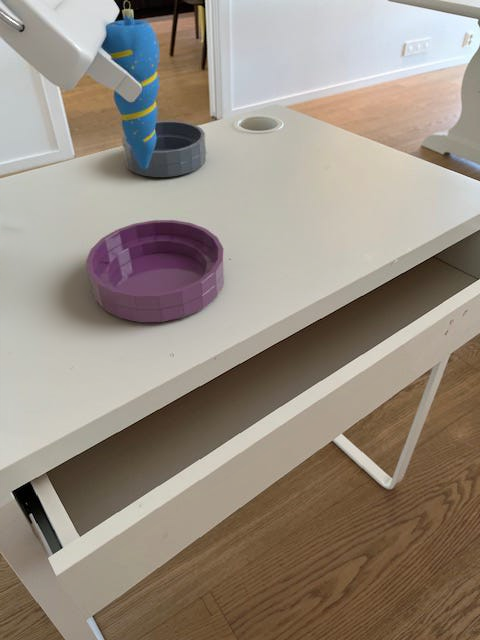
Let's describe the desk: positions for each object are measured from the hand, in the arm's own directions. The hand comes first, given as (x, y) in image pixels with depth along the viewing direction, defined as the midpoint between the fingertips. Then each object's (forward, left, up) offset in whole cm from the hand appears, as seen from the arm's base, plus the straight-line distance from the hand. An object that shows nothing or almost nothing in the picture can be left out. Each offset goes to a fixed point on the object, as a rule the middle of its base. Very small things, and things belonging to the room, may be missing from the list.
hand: (140, 83), depth 48 cm
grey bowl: (-13, +28, -21) cm, 38 cm away
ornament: (-1, 0, -9) cm, 9 cm away
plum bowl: (0, -3, -21) cm, 22 cm away
